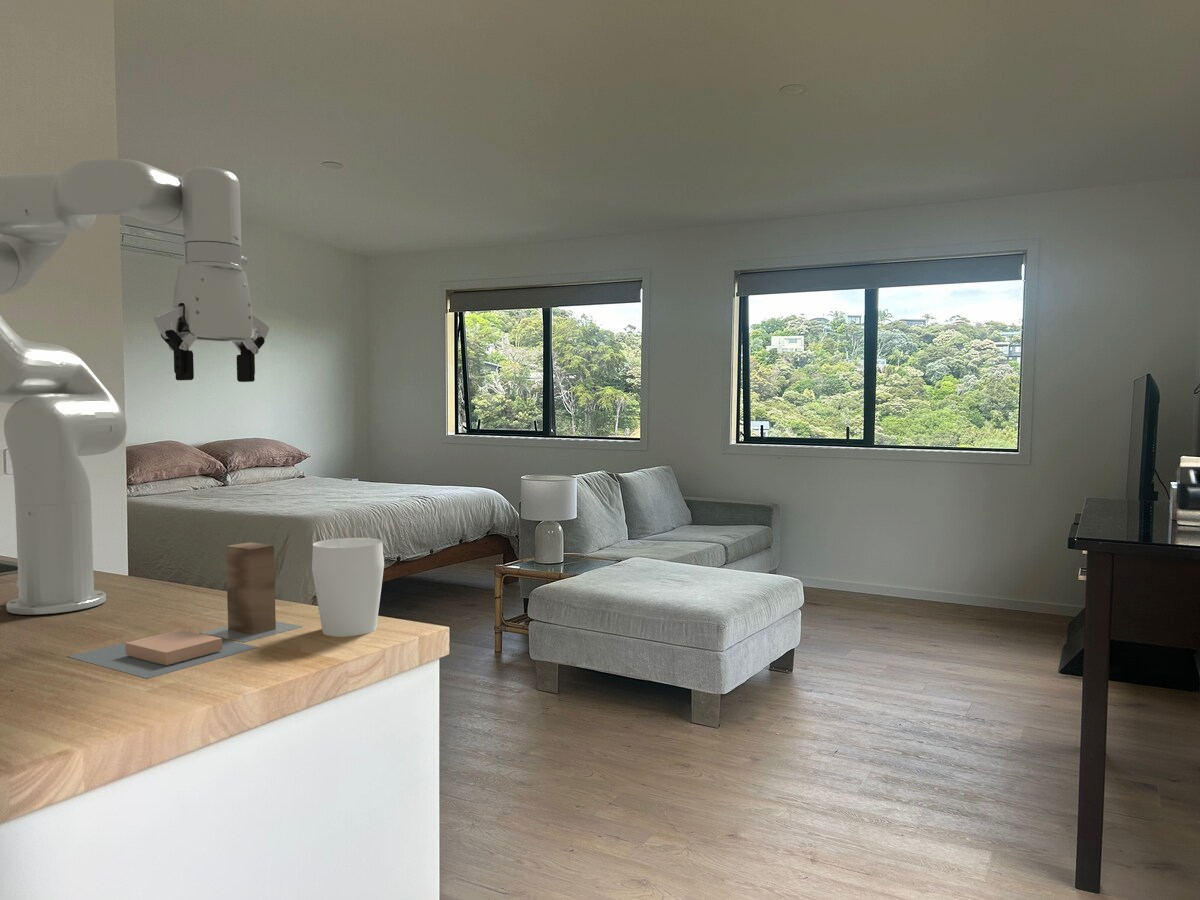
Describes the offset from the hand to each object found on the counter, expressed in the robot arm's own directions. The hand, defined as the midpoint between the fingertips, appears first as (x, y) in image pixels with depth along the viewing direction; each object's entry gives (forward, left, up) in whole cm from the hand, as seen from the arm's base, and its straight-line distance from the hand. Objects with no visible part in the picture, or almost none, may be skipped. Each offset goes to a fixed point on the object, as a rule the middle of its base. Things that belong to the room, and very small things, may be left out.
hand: (216, 380), depth 124 cm
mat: (+14, -17, -33) cm, 40 cm away
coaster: (+14, -5, -33) cm, 37 cm away
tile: (+12, -17, -32) cm, 38 cm away
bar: (+14, -5, -33) cm, 36 cm away
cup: (+25, +1, -34) cm, 42 cm away
